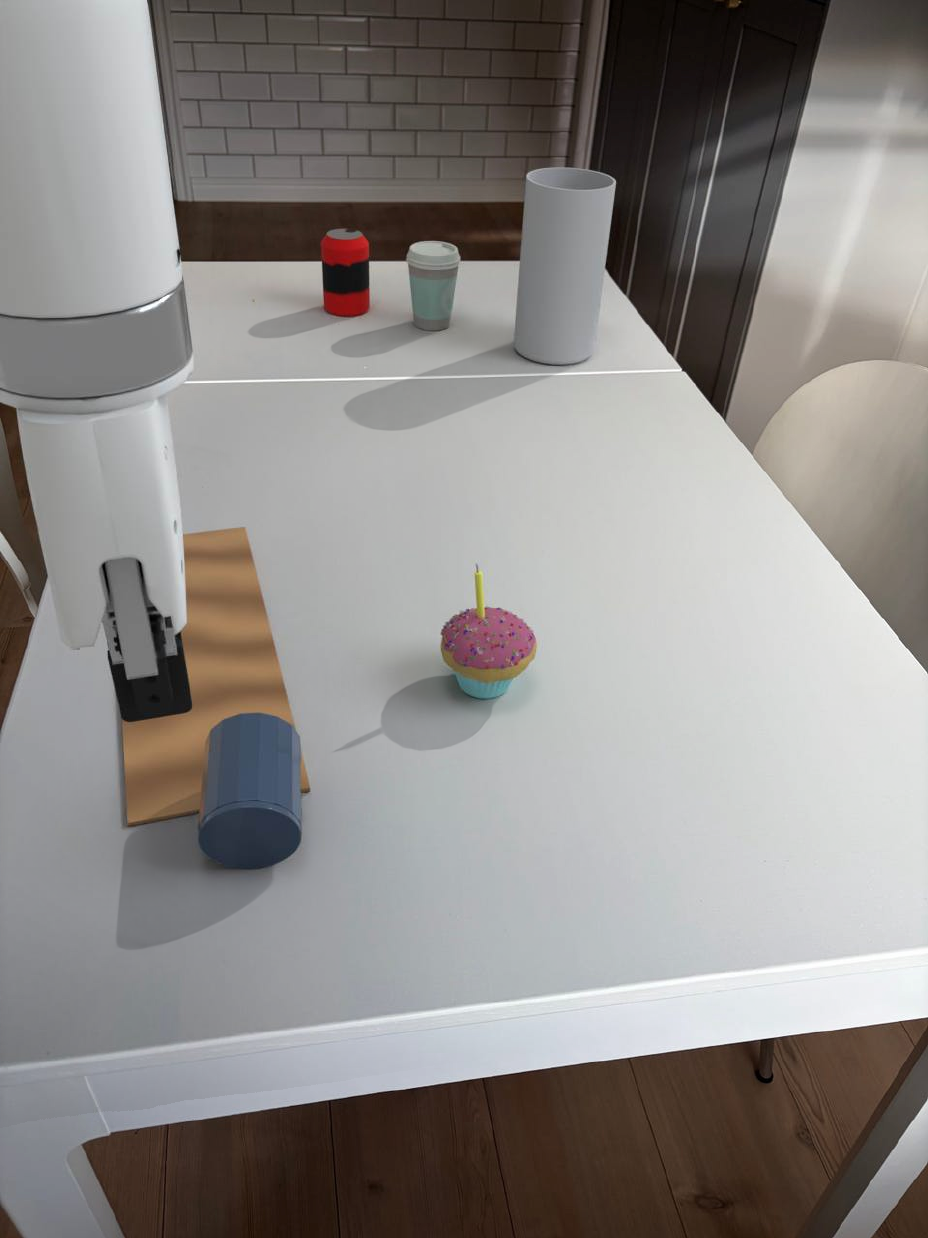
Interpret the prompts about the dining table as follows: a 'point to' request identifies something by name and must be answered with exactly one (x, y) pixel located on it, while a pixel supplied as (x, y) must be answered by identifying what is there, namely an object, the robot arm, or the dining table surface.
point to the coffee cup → (432, 283)
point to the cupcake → (486, 647)
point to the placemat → (207, 678)
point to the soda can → (345, 272)
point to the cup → (251, 792)
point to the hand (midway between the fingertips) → (157, 705)
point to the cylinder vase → (562, 263)
